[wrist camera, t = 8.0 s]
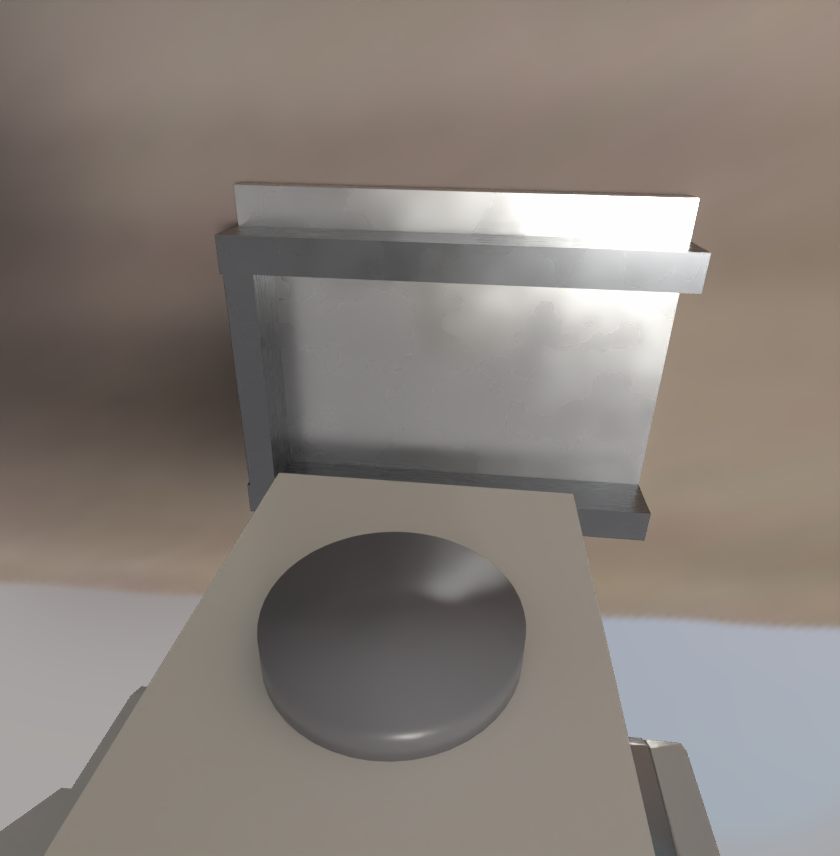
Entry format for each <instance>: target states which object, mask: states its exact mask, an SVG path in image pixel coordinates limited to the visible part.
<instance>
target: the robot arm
mask: <svg viewBox="0 0 840 856" xmlns="http://www.w3.org/2000/svg"><path fill="white" fill-rule="evenodd" d="M146 688H147V687H143V686H141V687H140V688H139V689H138V690H137V691H136V692H134V693H133V694H132V695H131V696H130V698H129V699H128V701H127V703H126V704H125V706H124V707H123V709H122V710H121V712H120V713H119V715H118V717H117V718H116V720H115V721H114V723H113V724H112V726H111V727H110V729H109V731H108V732H107V734H106V735H105V737H104V738H103V740H102V742H101V743H100V745H99V746H98V748H97V749H96V751H95V753H94V754H93V756H92V757H91V759H90V760H89V762H88V763H87V765H86V767H85V768H84V770H83V771H82V773H81V774H80V776H79V778H78V779H77V781H76V782H75V784H74V785H73V787H72V789H69V788H61V789H59V790H58V791H56V792H55V793H54V794H52V795H51V796H49V797H48V798H47V799H45V800H44V801H42V802H41V803H40V804H38V805H37V806H35V807H34V808H33V809H31V810H30V811H28V812H27V813H26V814H24V815H23V816H22V817H20V818H19V819H17V820H16V821H14V822H13V823H12V824H10V825H9V826H7V827H6V828H5V829H3V830H2V831H0V856H44V854H45V852H46V851H47V849H48V848H49V846H50V844H51V843H52V841H53V839H54V838H55V836H56V835H57V833H58V831H59V830H60V828H61V826H62V825H63V823H64V821H65V820H66V818H67V817H68V815H69V813H70V812H71V810H72V808H73V807H74V805H75V804H76V802H77V800H78V799H79V797H80V795H81V794H82V792H83V791H84V789H85V787H86V786H87V784H88V782H89V781H90V779H91V778H92V776H93V774H94V773H95V771H96V769H97V768H98V766H99V765H100V763H101V761H102V760H103V758H104V756H105V755H106V753H107V752H108V750H109V748H110V747H111V745H112V743H113V742H114V740H115V739H116V737H117V735H118V734H119V732H120V730H121V729H122V727H123V726H124V724H125V722H126V721H127V719H128V717H129V716H130V714H131V713H132V711H133V709H134V708H135V706H136V704H137V703H138V701H139V699H140V698H141V696H142V695H143V693H144V691H145V690H146ZM628 738H629V742H630V747H631V751H632V755H633V760H634V764H635V769H636V773H637V777H638V782H639V786H640V791H641V795H642V799H643V804H644V808H645V813H646V817H647V822H648V826H649V830H650V835H651V839H652V844H653V848H654V852H655V856H720V854H719V850H718V848H717V844H716V841H715V838H714V835H713V832H712V829H711V826H710V822H709V820H708V816H707V813H706V810H705V807H704V804H703V801H702V798H701V795H700V791H699V788H698V785H697V782H696V779H695V776H694V773H693V770H692V767H691V764H690V760H689V757H688V754H687V751H686V750H685V749H684V747H683V746H682V744H680V743H676V742H666V741H654V740H643V739H642V738H634V737H628Z"/></svg>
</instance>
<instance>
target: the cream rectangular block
mask: <svg viewBox="0 0 840 856" xmlns="http://www.w3.org/2000/svg"><path fill="white" fill-rule="evenodd" d="M44 856H655V852H654V848H653V844H652V839H651V835H650V830H649V826H648V822H647V817H646V813H645V808H644V804H643V799H642V795H641V791H640V786H639V782H638V777H637V773H636V769H635V764H634V760H633V755H632V751H631V747H630V742H629V738H628V734H627V729H626V724H625V720H624V716H623V711H622V707H621V702H620V698H619V694H618V689H617V685H616V681H615V676H614V672H613V667H612V663H611V658H610V654H609V650H608V645H607V641H606V637H605V632H604V628H603V623H602V619H601V614H600V610H599V605H598V601H597V597H596V592H595V588H594V583H593V579H592V575H591V570H590V566H589V561H588V557H587V552H586V548H585V544H584V539H583V535H582V530H581V526H580V522H579V517H578V513H577V508H576V504H575V500H574V495H573V494H569V493H555V492H541V491H527V490H513V489H499V488H485V487H472V486H458V485H444V484H430V483H416V482H402V481H388V480H374V479H360V478H346V477H332V476H318V475H304V474H290V473H278V475H277V477H276V478H275V480H274V482H273V483H272V485H271V486H270V488H269V490H268V491H267V493H266V495H265V496H264V498H263V499H262V501H261V503H260V504H259V506H258V508H257V509H256V511H255V512H254V514H253V516H252V517H251V519H250V521H249V522H248V524H247V525H246V527H245V529H244V530H243V532H242V534H241V535H240V537H239V538H238V540H237V542H236V543H235V545H234V547H233V548H232V550H231V551H230V553H229V555H228V556H227V558H226V560H225V561H224V563H223V564H222V566H221V568H220V569H219V571H218V573H217V574H216V576H215V577H214V579H213V581H212V582H211V584H210V586H209V587H208V589H207V591H206V592H205V594H204V595H203V597H202V599H201V600H200V602H199V604H198V605H197V607H196V608H195V610H194V612H193V614H192V615H191V617H190V618H189V620H188V622H187V623H186V625H185V626H184V628H183V630H182V631H181V633H180V634H179V636H178V638H177V639H176V641H175V643H174V644H173V646H172V648H171V649H170V651H169V652H168V654H167V656H166V657H165V659H164V660H163V662H162V664H161V665H160V667H159V669H158V670H157V672H156V674H155V675H154V677H153V679H152V680H151V682H150V683H149V685H148V686H147V688H146V690H145V691H144V693H143V695H142V696H141V698H140V699H139V701H138V703H137V704H136V706H135V708H134V709H133V711H132V713H131V714H130V716H129V717H128V719H127V721H126V722H125V724H124V726H123V727H122V729H121V730H120V732H119V734H118V735H117V737H116V739H115V740H114V742H113V743H112V745H111V747H110V748H109V750H108V752H107V753H106V755H105V756H104V758H103V760H102V761H101V763H100V765H99V766H98V768H97V769H96V771H95V773H94V774H93V776H92V778H91V779H90V781H89V782H88V784H87V786H86V787H85V789H84V791H83V792H82V794H81V795H80V797H79V799H78V800H77V802H76V804H75V805H74V807H73V808H72V810H71V812H70V813H69V815H68V817H67V818H66V820H65V821H64V823H63V825H62V826H61V828H60V830H59V831H58V833H57V835H56V836H55V838H54V839H53V841H52V843H51V844H50V846H49V848H48V849H47V851H46V852H45V854H44Z"/></svg>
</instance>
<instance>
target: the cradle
mask: <svg viewBox="0 0 840 856" xmlns="http://www.w3.org/2000/svg"><path fill="white" fill-rule="evenodd" d="M234 190H235V199H236V208H237V217H238V226H236V227H234V228H231V229H228V230H226V231H223V232H221V233H218V234H216V235H215V240H216V248H217V256H218V263H219V271H220V274H223V279H224V287H225V294H226V302H227V310H228V318H229V325H230V333H231V341H232V349H233V357H234V364H235V372H236V380H237V388H238V396H239V403H240V411H241V419H242V427H243V435H244V442H245V450H246V458H247V466H248V473H249V481H250V482H249V483H248V493H249V501H250V508H251V511H256V509H257V508H258V506H259V504H260V503H261V501H262V499H263V498H264V496H265V495H266V493H267V491H268V490H269V488H270V486H271V485H272V483H273V482H274V480H275V478H276V477H277V475H278V473H290V474H304V475H318V476H332V477H346V478H360V479H374V480H388V481H402V482H416V483H430V484H444V485H458V486H472V487H485V488H499V489H513V490H527V491H541V492H555V493H569V494H573V495H574V500H575V504H576V508H577V513H578V517H579V522H580V526H581V530H582V535H583V536H589V537H602V538H616V539H629V540H642V541H644V540H645V536H646V532H647V527H648V523H649V519H650V511H649V509H648V506H647V504H646V502H645V499H644V497H643V495H642V492H641V490H640V487H639V485H638V483H639V479H640V474H641V469H642V465H643V460H644V455H645V451H646V446H647V441H648V437H649V432H650V427H651V423H652V418H653V413H654V409H655V404H656V399H657V395H658V390H659V385H660V381H661V376H662V371H663V367H664V362H665V357H666V353H667V348H668V343H669V339H670V334H671V329H672V325H673V320H674V315H675V311H676V306H677V301H678V297H679V293H695V294H702V289H703V285H704V281H705V276H706V272H707V268H708V263H709V259H710V255H711V253H710V252H708V251H707V250H705V249H703V248H701V247H699V246H698V245H696V244H694V243H692V242H690V241H691V236H692V231H693V227H694V222H695V217H696V213H697V208H698V203H699V199H700V198H697V197H694V196H691V195H664V194H630V193H595V192H561V191H526V190H492V189H457V188H423V187H388V186H354V185H319V184H285V183H250V182H244V183H240V184H235V185H234Z"/></svg>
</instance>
